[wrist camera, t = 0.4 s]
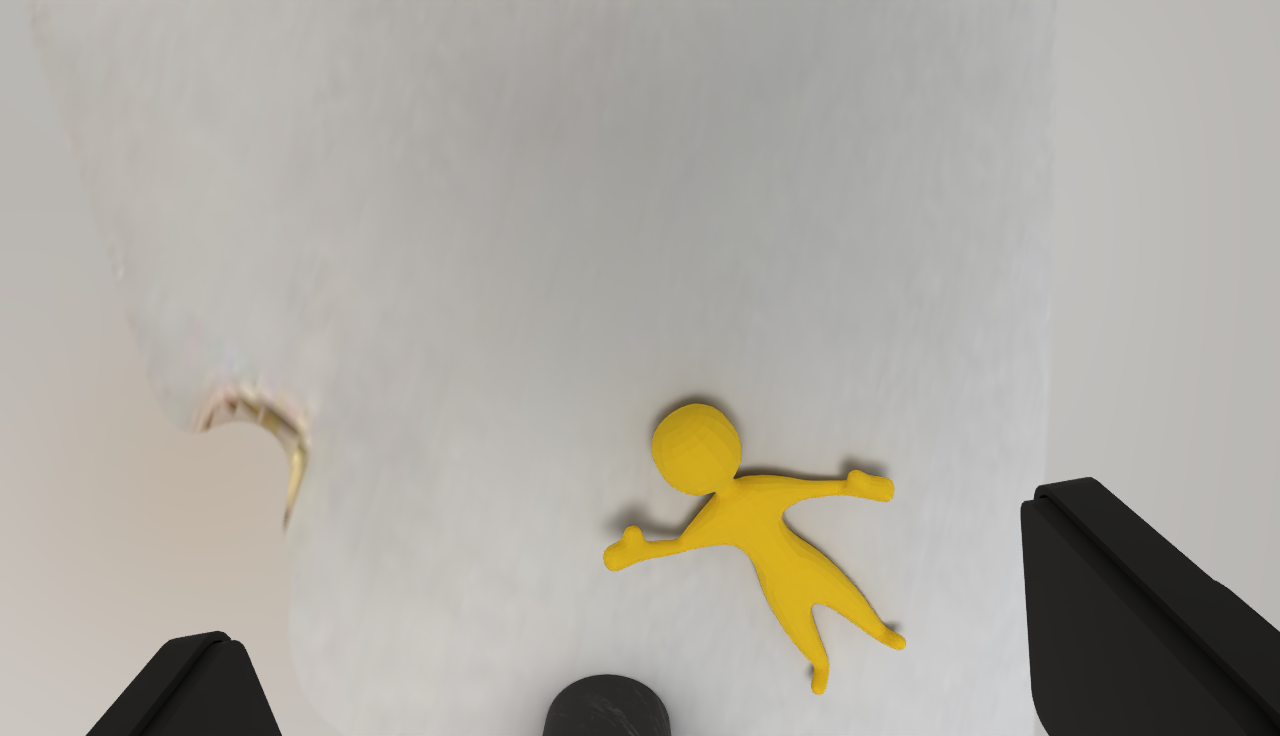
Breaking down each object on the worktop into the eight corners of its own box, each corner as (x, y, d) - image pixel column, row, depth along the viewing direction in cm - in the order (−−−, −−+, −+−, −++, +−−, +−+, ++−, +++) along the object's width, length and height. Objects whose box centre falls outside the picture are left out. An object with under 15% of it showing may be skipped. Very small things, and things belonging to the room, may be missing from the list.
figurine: (760, 747, 45) (557, 518, 39) (746, 685, 49) (560, 469, 43) (986, 623, 42) (808, 357, 36) (951, 568, 47) (785, 322, 40)
